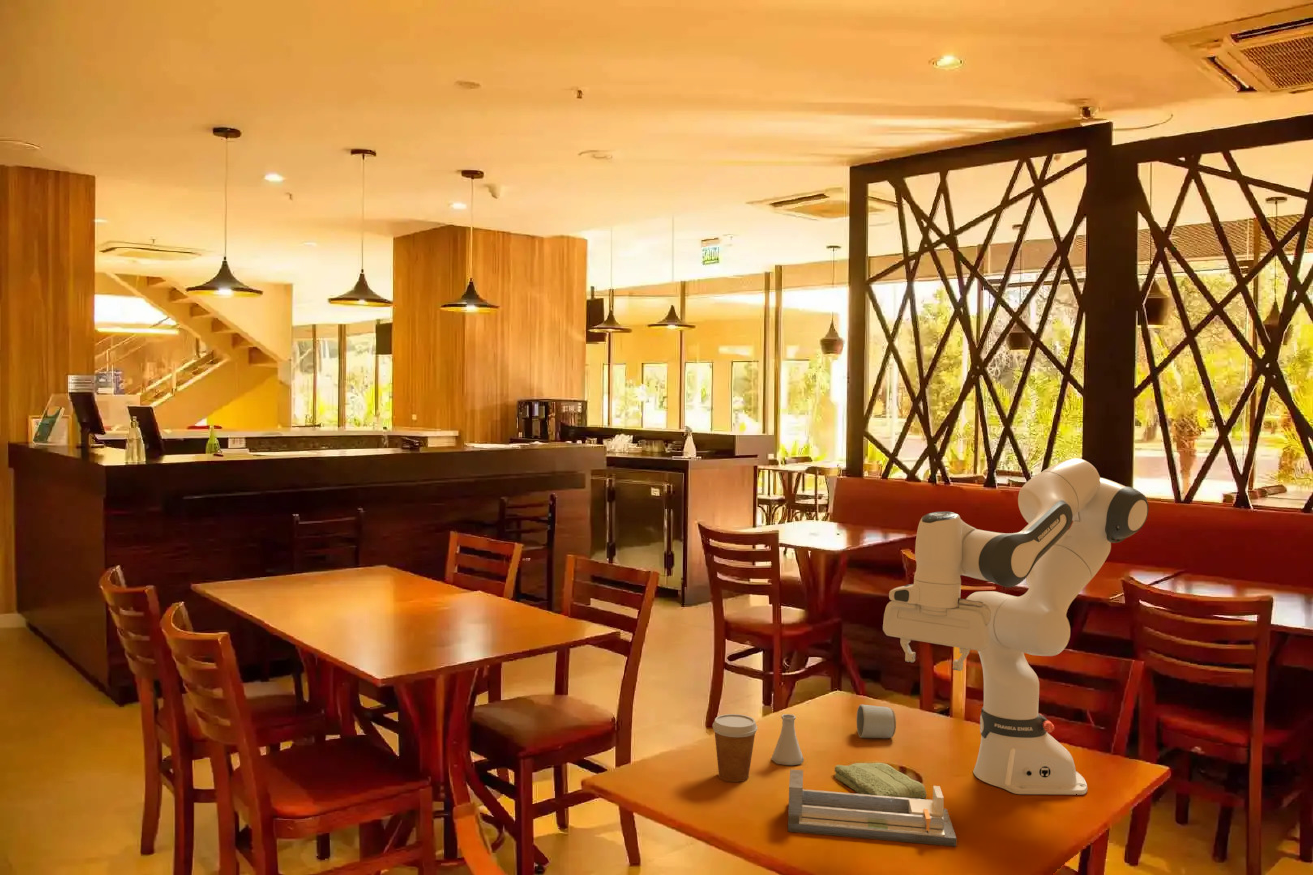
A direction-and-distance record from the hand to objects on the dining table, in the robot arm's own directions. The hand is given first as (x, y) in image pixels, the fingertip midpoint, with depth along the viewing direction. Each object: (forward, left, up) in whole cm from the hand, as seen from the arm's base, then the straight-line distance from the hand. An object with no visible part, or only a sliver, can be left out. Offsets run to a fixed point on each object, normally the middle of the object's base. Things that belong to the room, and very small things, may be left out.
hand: (933, 665), depth 188 cm
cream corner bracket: (+2, +11, -27) cm, 29 cm away
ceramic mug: (+8, -42, -29) cm, 51 cm away
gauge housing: (+12, +10, -28) cm, 32 cm away
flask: (+28, -20, -29) cm, 45 cm away
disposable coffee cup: (+39, -8, -29) cm, 49 cm away
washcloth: (+9, -9, -29) cm, 32 cm away
